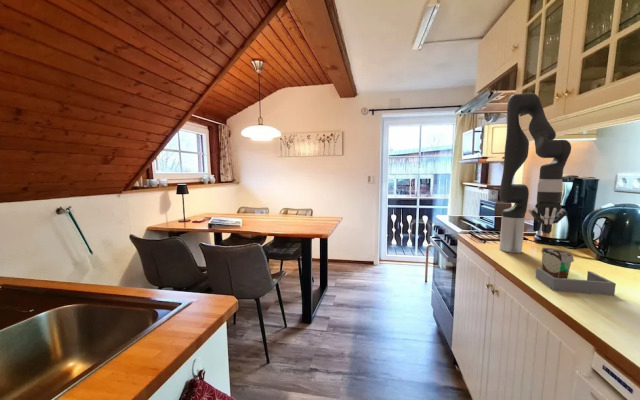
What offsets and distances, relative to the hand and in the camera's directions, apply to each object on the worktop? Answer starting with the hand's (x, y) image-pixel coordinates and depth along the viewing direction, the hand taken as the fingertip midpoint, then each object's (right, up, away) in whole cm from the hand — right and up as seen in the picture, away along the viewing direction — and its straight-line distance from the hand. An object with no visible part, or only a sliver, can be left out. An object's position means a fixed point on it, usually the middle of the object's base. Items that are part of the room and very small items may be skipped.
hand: (546, 233), depth 109 cm
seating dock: (-4, -17, -15) cm, 23 cm away
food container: (-2, -16, -8) cm, 18 cm away
